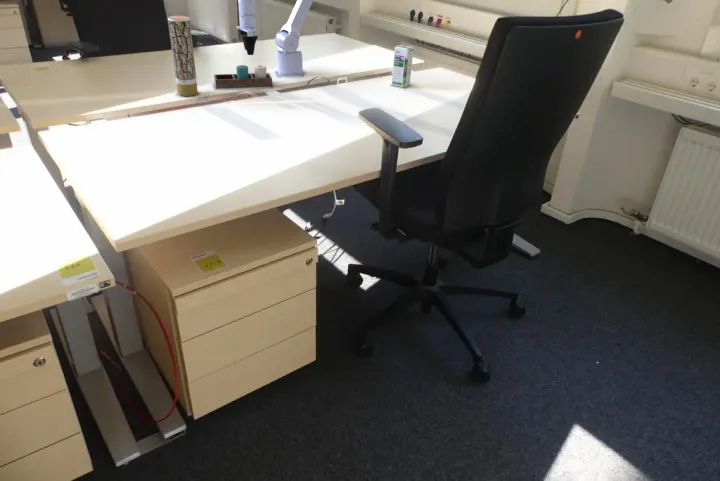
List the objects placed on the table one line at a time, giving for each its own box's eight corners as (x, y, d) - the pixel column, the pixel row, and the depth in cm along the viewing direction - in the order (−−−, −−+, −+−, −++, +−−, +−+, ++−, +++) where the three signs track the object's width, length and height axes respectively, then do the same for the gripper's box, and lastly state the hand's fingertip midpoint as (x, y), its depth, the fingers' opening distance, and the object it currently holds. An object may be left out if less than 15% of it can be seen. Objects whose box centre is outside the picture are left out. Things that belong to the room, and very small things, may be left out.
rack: (269, 82, 204) (268, 72, 202) (272, 87, 198) (272, 78, 197) (214, 84, 199) (213, 74, 197) (216, 89, 193) (215, 80, 191)
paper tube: (192, 97, 184) (183, 20, 171) (174, 95, 185) (163, 18, 172) (201, 92, 190) (193, 16, 176) (183, 90, 191) (174, 14, 177)
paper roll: (248, 82, 200) (247, 65, 197) (249, 86, 197) (248, 68, 194) (236, 83, 199) (235, 65, 196) (238, 86, 196) (236, 68, 192)
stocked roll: (265, 82, 202) (265, 64, 199) (267, 85, 199) (266, 67, 195) (254, 82, 201) (253, 64, 198) (256, 85, 198) (255, 67, 194)
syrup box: (390, 85, 209) (394, 46, 201) (397, 82, 213) (400, 44, 206) (404, 88, 207) (408, 49, 199) (410, 84, 211) (414, 46, 204)
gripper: (233, 10, 201) (236, 47, 208) (238, 17, 189) (240, 57, 197) (252, 10, 203) (254, 47, 210) (258, 17, 191) (260, 56, 198)
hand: (249, 52), depth 203 cm, fingers open, 7 cm apart
